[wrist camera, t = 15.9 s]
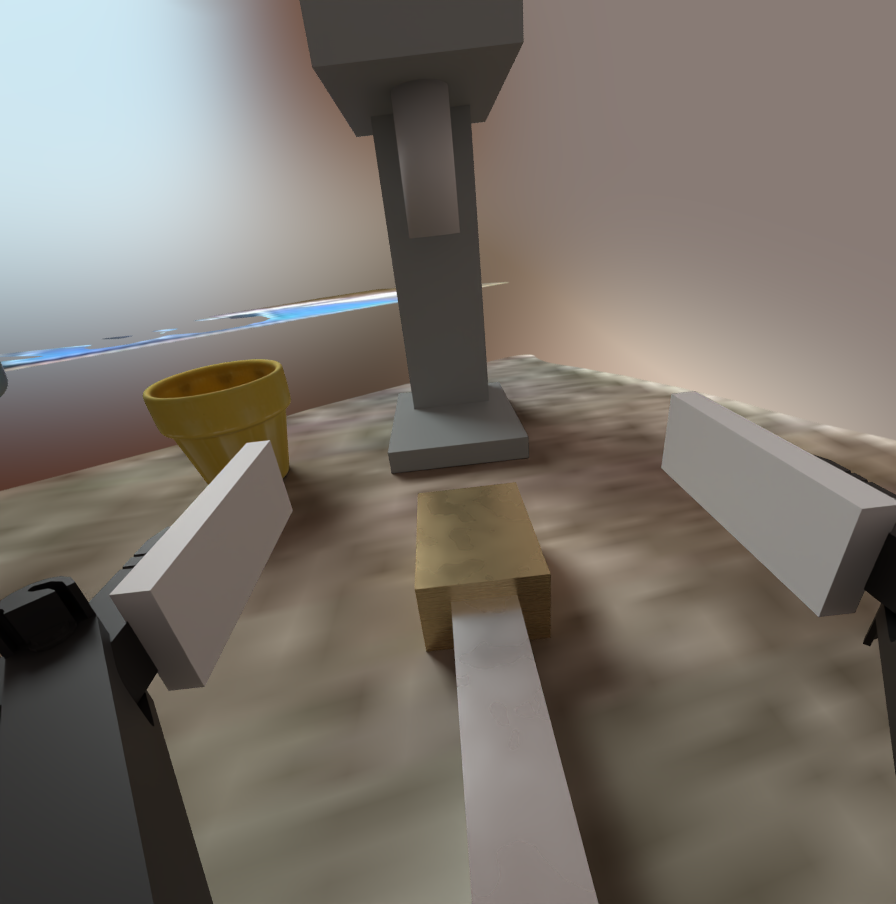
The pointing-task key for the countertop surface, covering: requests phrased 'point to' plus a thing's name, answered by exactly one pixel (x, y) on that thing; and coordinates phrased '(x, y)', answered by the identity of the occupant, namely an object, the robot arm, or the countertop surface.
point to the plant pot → (223, 411)
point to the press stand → (429, 199)
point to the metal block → (500, 693)
